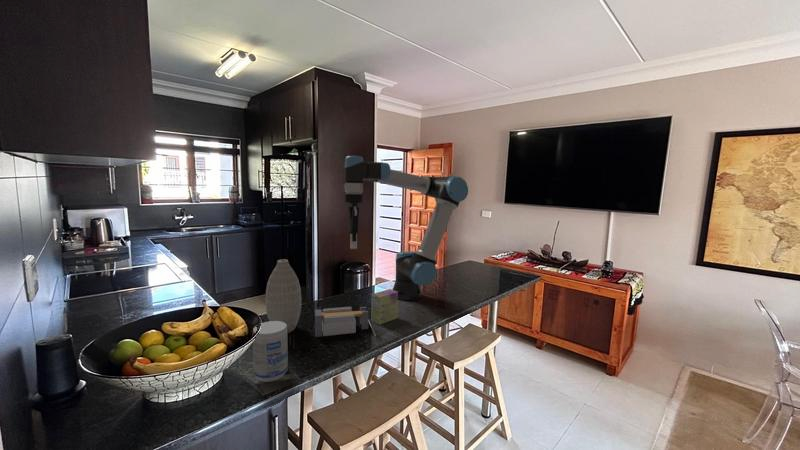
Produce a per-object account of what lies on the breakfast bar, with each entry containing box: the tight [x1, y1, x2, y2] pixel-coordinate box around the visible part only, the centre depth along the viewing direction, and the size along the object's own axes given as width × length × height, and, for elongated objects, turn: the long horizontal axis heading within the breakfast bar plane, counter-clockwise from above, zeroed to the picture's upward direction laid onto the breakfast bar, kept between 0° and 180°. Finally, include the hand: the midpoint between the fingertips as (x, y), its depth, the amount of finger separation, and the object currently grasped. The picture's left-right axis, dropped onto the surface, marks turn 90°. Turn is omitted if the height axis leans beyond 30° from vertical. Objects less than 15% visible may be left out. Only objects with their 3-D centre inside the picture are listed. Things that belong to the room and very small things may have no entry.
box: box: [370, 288, 399, 325], centre depth 138 cm, size 10×6×12 cm, turn 134°
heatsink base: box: [322, 306, 377, 338], centre depth 126 cm, size 24×18×8 cm
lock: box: [314, 309, 323, 338], centre depth 121 cm, size 2×6×8 cm, turn 16°
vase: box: [265, 258, 302, 334], centre depth 123 cm, size 13×13×28 cm
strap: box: [322, 310, 365, 321], centre depth 126 cm, size 19×4×2 cm, turn 106°
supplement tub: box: [252, 320, 289, 383], centre depth 96 cm, size 10×10×15 cm
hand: (353, 248), depth 140 cm, fingers closed
